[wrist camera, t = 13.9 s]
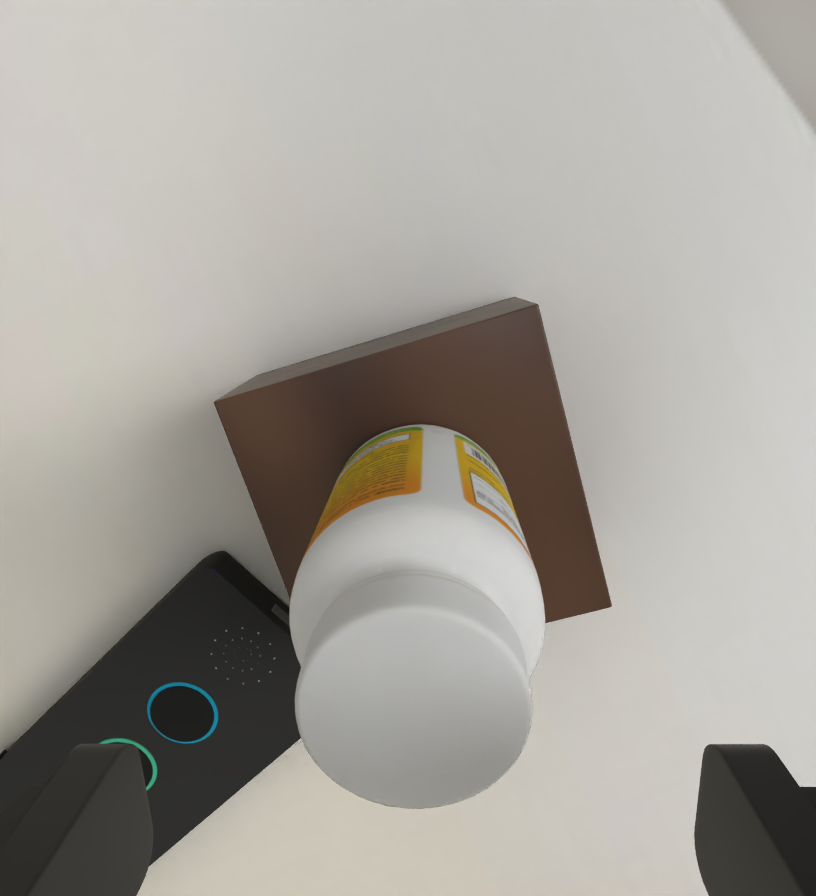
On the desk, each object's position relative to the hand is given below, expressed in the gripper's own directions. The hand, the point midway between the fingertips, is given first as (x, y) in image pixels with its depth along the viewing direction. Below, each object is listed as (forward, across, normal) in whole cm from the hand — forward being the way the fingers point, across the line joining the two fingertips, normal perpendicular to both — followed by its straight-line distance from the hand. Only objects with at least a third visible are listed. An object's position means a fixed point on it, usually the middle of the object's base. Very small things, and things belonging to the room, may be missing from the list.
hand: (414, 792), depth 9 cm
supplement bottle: (+11, 0, 0) cm, 11 cm away
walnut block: (+16, 0, 0) cm, 16 cm away
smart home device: (+16, +13, +13) cm, 25 cm away
